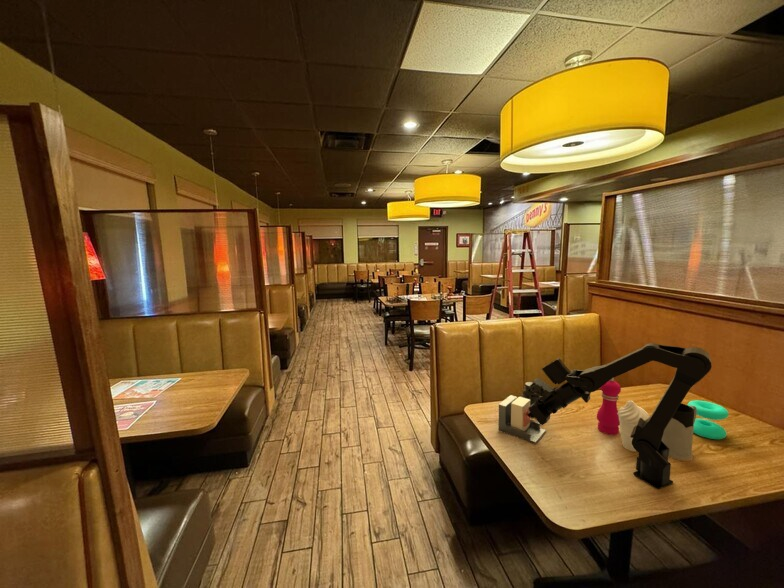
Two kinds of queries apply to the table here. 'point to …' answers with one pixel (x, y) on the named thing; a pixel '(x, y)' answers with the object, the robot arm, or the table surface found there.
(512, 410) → the cream block orange label
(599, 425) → the pepper mill
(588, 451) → the table surface
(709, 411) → the donuts
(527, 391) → the supplement bottle
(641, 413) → the soft serve ice cream cone
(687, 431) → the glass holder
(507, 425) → the press stand
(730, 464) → the table surface
